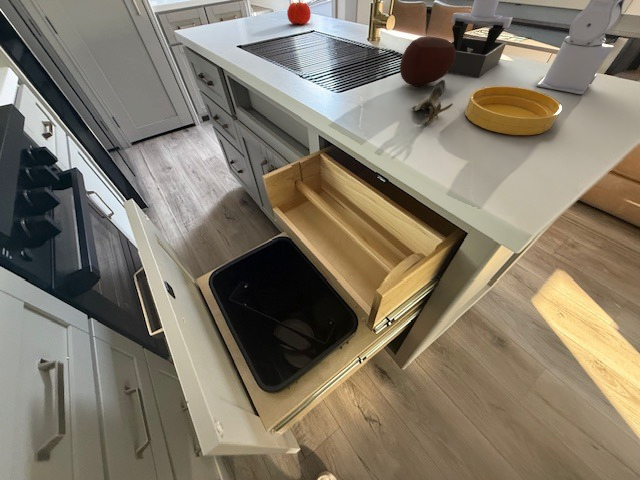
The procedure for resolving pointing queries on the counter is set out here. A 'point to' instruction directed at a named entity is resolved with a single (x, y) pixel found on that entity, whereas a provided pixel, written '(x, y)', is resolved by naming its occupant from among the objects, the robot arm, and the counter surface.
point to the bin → (476, 57)
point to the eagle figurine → (433, 102)
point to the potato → (426, 60)
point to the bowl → (512, 110)
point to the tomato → (298, 13)
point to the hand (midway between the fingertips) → (468, 56)
